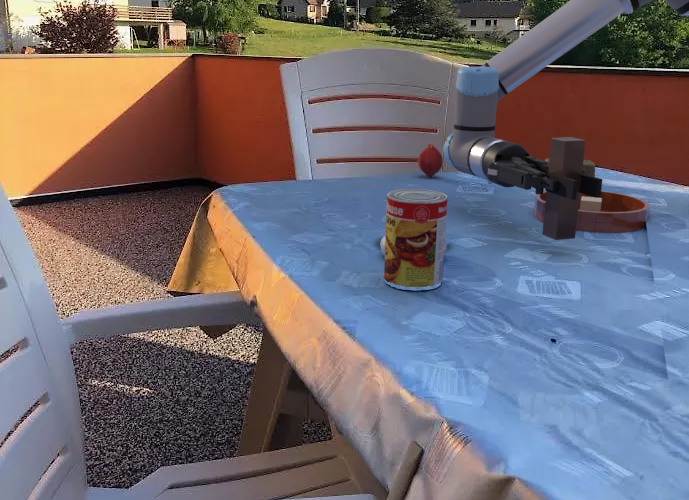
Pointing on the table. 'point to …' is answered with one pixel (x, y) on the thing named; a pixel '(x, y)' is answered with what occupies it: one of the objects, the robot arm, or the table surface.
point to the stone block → (585, 167)
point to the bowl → (606, 213)
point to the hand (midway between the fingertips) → (587, 189)
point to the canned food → (415, 237)
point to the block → (590, 204)
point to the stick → (558, 208)
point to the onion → (430, 160)
